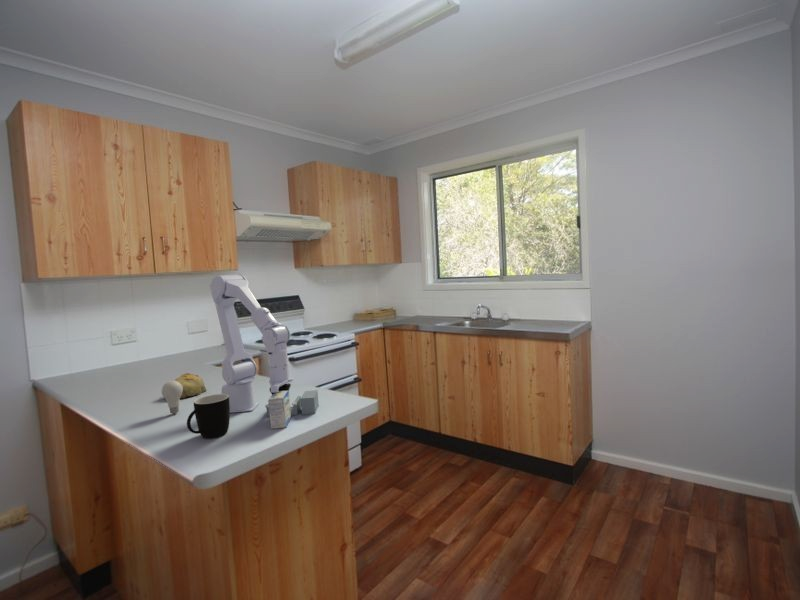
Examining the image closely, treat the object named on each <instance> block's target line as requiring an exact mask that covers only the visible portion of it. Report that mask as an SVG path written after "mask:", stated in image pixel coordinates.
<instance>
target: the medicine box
mask: <svg viewBox="0 0 800 600" xmlns="http://www.w3.org/2000/svg"><path fill="white" fill-rule="evenodd" d="M289 391H290V390H289ZM289 391H278V392H274V393H273V395H272V394H271V396H270V397H269V399H268V400H267V402H268V404H269V414H270V417H269V422H270V428H271V429H272V430H273V429H283V428H288V427H287V426H288V425H289V424H290V421H291V419H292V415H291V410H290V407H291V401H290V392H289ZM268 404H267V405H268Z"/></svg>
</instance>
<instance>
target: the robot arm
mask: <svg viewBox="0 0 800 600" xmlns="http://www.w3.org/2000/svg"><path fill="white" fill-rule="evenodd" d="M209 287H210V291H211V295H212V299H213V303H214V305H215V308H216V313H217V316H218V317H217V318H218V321H219V326H220V329H221V334H222V338H223V341H224V347H225V350H226V354H227V355H226V356H225V357H224V359H223V360H222V361H221V368H222V369H221V374H222V375H221V376H222V379H223V381H224V382H225V383H223V384H222V386H221V393H220V394H227V395H228V396H229V403H230V413H242V412H243V413H244V412H245V413H246V412H252V411H253V410H254V409H255V408H256V407H257V406H258V405H259V402H257V401H255V395H254V394H255V391H254V384H253V383H254V381H253V380H255V377H256V376H257V373H258V366H257V363H256V362H255V360H254V357H253V355H252V354H251V353H250V352H248V351H246V350H245V347H244V343H243V342H244V341H243V338H242V335H241V330H240V326H239V323H238V318H237V315H236V310H235V303H236V301H237V300H238V301H239V302H240V303H242V304H243V306H244V308H246V309H247V310H248V311H249V313H251V314H250V319H251V321H252V322H253V324H254V325H255V326H256V327H257V329H258V330H259V332H260V333H261V334H262V336H261V341H262V343H263V345H264V348H265V352H266V353H267V363H268V371H269V372H268V375H269V381H268V383H269V386H270V387H269V392H270V394H271V396H272V395H273V393H274V392H278V391H290V388H291V385H292V384H291V383H292V382H293V381H294V377H290V372H289V360H288V358H289V357H288V349H287V348H288V347H287V343H288V342H289V340H290V337H291V334H290V333H291V332H290V330H289V328H288V327H287V325H285V324H282V323H281V322H278V321H277V320H276V318H275V317H274V316H273V314H272V313H271V310H269V308H267V307H262V306H261V305H260V303H259V302H258V300H257V299H256V298H255V295H254V294H253V293H252V291H251V290H250V282H249V280H248V279H247V278H246V276H245V275H244V274H241V273H237V274H225V275H224V274H223V275H222V274H221V275H219V274H216V275H214V276H213V277H212V279H211V282H210V284H209ZM290 382H291V383H290Z"/></svg>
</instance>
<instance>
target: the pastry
mask: <svg viewBox="0 0 800 600" xmlns="http://www.w3.org/2000/svg"><path fill="white" fill-rule="evenodd" d="M174 381H177V382H179V383H180V384H181V385H182V387H183V392H182V394H181V397H180V399H185V398H186V399H187V398H190V397H194V396H199V395H201V394H203V393H205V392H207V388H206V384H205V381H204V380H203V379H202V377H200V376H199V375H197V374H192V373H188V372H186V373H184V374H182V375H180V376H179V377H178V378H176V379H175V380H174Z"/></svg>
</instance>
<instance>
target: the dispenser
mask: <svg viewBox="0 0 800 600" xmlns="http://www.w3.org/2000/svg"><path fill="white" fill-rule="evenodd" d="M291 405H292V406H290V410H291V416H298V414H299V412H300V411H301V415H312V414H313V415H314V414H316V413H317V410H318V408H319V392H318V390H317V389H316V390H315V389H313V390H305V391H304V393H302V396H301V395H298V396H297V397H296V398H295V400H294V401H293V402H292V403H291ZM264 407H265V408H266V417H267V418H270V414H269V404H265V405H264Z"/></svg>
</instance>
